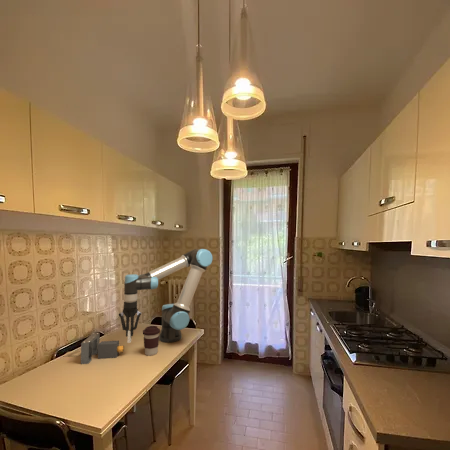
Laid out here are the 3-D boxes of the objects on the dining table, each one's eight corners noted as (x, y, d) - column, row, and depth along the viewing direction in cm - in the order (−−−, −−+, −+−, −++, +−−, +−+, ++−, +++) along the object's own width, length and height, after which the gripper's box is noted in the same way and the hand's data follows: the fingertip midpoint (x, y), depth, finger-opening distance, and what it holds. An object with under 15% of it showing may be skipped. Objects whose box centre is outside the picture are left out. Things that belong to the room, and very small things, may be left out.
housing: (99, 351, 157) (99, 332, 158) (88, 363, 141) (88, 342, 142) (92, 352, 157) (92, 332, 157) (80, 364, 141) (81, 342, 142)
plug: (124, 354, 153) (124, 340, 154) (121, 357, 148) (121, 343, 149) (101, 355, 152) (101, 341, 153) (97, 359, 147) (98, 344, 148)
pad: (83, 351, 158) (83, 350, 158) (79, 355, 152) (79, 355, 152) (68, 352, 157) (68, 351, 157) (63, 356, 151) (63, 356, 151)
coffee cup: (163, 351, 157) (163, 325, 158) (153, 357, 147) (153, 330, 149) (149, 349, 160) (149, 324, 161) (139, 355, 151) (139, 329, 152)
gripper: (143, 299, 158) (142, 339, 156) (121, 299, 157) (119, 340, 155) (140, 302, 151) (139, 343, 149) (117, 302, 149) (115, 344, 147)
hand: (129, 341), depth 152 cm, fingers closed
